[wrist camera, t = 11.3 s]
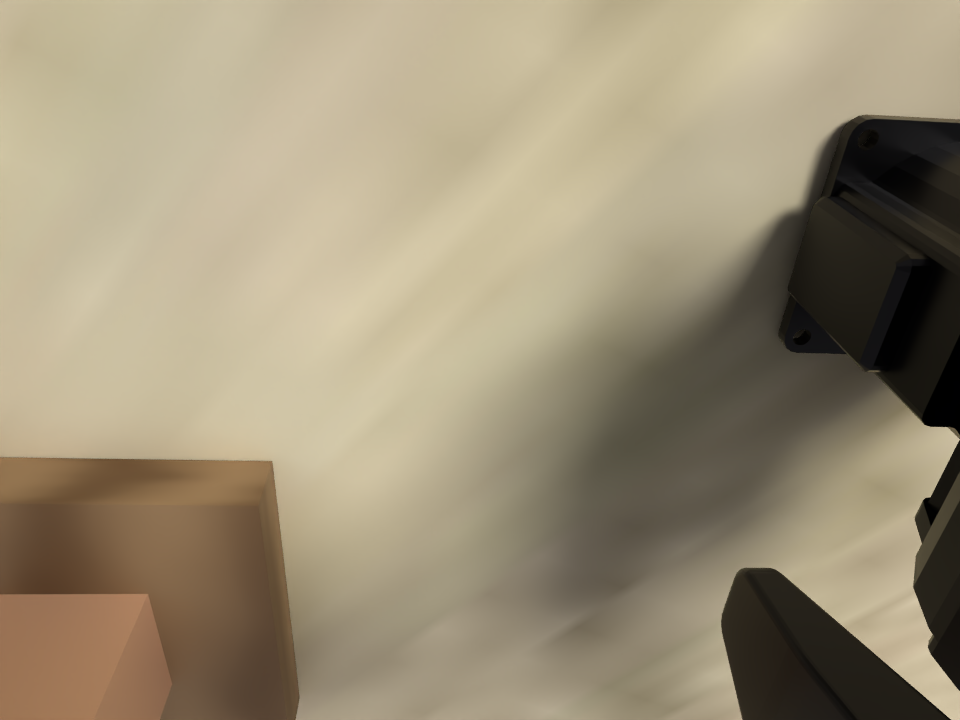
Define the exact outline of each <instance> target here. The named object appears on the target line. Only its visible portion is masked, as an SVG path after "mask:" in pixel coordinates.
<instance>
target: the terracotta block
mask: <svg viewBox="0 0 960 720" xmlns="http://www.w3.org/2000/svg"><path fill="white" fill-rule="evenodd" d="M171 686H172V681H171V678H170V674H169V670H168V667H167V663H166V659H165V655H164V652H163V648H162V644H161V641H160V637H159V633H158V630H157V626H156V622H155V618H154V615H153V611H152V607H151V604H150V600H149V596H148V594H0V720H160V718H161V715H162V712H163V709H164V706H165V704H166V701H167V698H168V695H169V692H170V689H171Z"/></svg>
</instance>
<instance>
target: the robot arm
mask: <svg viewBox="0 0 960 720" xmlns="http://www.w3.org/2000/svg"><path fill="white" fill-rule="evenodd" d="M869 129H870V137H869V139H868V140H867V142H865V143H864V144H863V145H860V146H858V138H859V137H860V135H861V134H862V133H863V132H864V131H866V130H869ZM788 291H789V292H790V297H789V301H788V304H787V307H786V310H785V313H784V316H783V320H782V323H781V326H780V329H779V338H780V340H781V342H782V343H783V344H784V345H785V347H786V348H787V349H789V350H790V351H792V352H796V353H830V354H847V355H848V356H849V357H850V358H851V359H852V360H853V361H854V362H855V363H856V364H857V365H858V366H859V367H860V368H861V369H862V370H863V371H865V372H874V373H875V374H876V375H877V376H878V377H879V378H880V379H881V380H882V381H883V382H884V383H885V384H886V385H887V386H888V388H889V389H890V390H891V391H892V392H893V393H894V394H895V395H896V396H897V397H898V398H899V399H900V400H901V401H902V402H903V403H904V404H905V405H906V406H907V407H908V408H909V409H910V410H911V411H912V412H913V413H914V414H915V415H916V416H917V417H918V418H919V419H920V420H921V421H922V423H923V424H924V425H927V426H930V427H948V428H949V429H950V430H951V431H952V432H953V433H954V434H955V435H956V436H957V437H958V438H959V439H960V120H957V119H938V118H919V117H900V116H881V115H862V116H858V117H856V118H854V119H852V120H851V121H850V122H849V123H848V124H847V125H846V126H845V127H844V129H843V131H842V133H841V135H840V138H839V141H838V144H837V147H836V151H835V154H834V157H833V160H832V163H831V167H830V170H829V173H828V176H827V179H826V183H825V186H824V189H823V192H822V195H821V198H820V199H819V200H818V201H817V202H816V203H815V204H814V205H813V208H812V211H811V215H810V218H809V221H808V224H807V227H806V231H805V234H804V237H803V240H802V244H801V247H800V250H799V253H798V256H797V260H796V263H795V266H794V269H793V273H792V276H791V279H790V282H789V286H788ZM804 329H805V331H804V333H803V334H802V335H801V336H800V337H798V338H793V337H794V335H795V334H796V333H797V332H798V331H800V330H804ZM915 522H916V525H917V529H918V532H919V535H920V538H921V542H922V545H921V547H920V549H919V551H918V553H917V555H916V561H915V573H914V584H913V588H914V590H915V593H916V596H917V598H918V601H919V603H920V606H921V609H922V611H923V614H924V617H925V619H926V622H927V625H928V627H929V629H930V631H931V632H932V634H933V635H932V637H931V638H930V640H929V644H928V648H929V651H930V653H931V655H932V656H933V658H934V659H935V660H936V662H937V663H938V664H939V665H940V667H941V668H942V669H943V671H944V672H945V673H946V674H947V676H948V677H949V678H950V680H951V681H952V682H953V683H954V685H955V686H956V687H957V688H958V690H959V691H960V440H959V442H958V444H957V446H956V448H955V450H954V452H953V454H952V456H951V458H950V460H949V462H948V464H947V466H946V468H945V470H944V472H943V474H942V476H941V478H940V480H939V482H938V484H937V486H936V488H935V490H934V492H933V494H932V496H931V497H930V498H925V499H924V500H923V502H922V504H921V506H920V508H919V510H918V512H917V514H916V516H915ZM721 627H722V634H723V639H724V643H725V647H726V652H727V656H728V660H729V664H730V669H731V673H732V677H733V681H734V686H735V690H736V694H737V698H738V703H739V707H740V711H741V715H742V720H951V719H950V718H948V717H947V716H946V715H945V714H944V713H943V712H941V711H940V710H939V709H938V708H937V707H936V706H934V705H933V704H932V703H931V702H930V701H929V700H927V699H926V698H925V697H924V696H923V695H922V694H921V693H919V692H918V691H917V690H916V689H915V688H914V687H912V686H911V685H910V684H909V683H908V682H907V681H905V680H904V679H903V678H902V677H901V676H900V675H898V674H897V673H896V672H895V671H894V670H893V669H892V668H890V667H889V666H888V665H887V664H886V663H885V662H883V661H882V660H881V659H880V658H879V657H878V656H876V655H875V654H874V653H873V652H872V651H871V650H869V649H868V648H867V647H866V646H865V645H864V644H863V643H861V642H860V641H859V640H858V639H857V638H856V637H854V636H853V635H852V634H851V633H850V632H849V631H847V630H846V629H845V628H844V627H843V626H842V625H840V624H839V623H838V622H837V621H836V620H835V619H834V618H832V617H831V616H830V615H829V614H828V613H827V612H825V611H824V610H823V609H822V608H821V607H820V606H818V605H817V604H816V603H815V602H814V601H813V600H811V599H810V598H809V597H808V596H807V595H806V594H805V593H803V592H802V591H801V590H800V589H799V588H798V587H796V586H795V585H794V584H793V583H792V582H791V581H789V580H788V579H787V578H786V577H785V576H784V575H782V574H781V573H780V572H778V571H777V570H775V569H772V568H743V569H741V570H739V571H738V572H737V574H736V576H735V578H734V581H733V584H732V587H731V590H730V592H729V595H728V598H727V601H726V604H725V607H724V610H723V613H722V619H721Z"/></svg>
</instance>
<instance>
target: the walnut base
mask: <svg viewBox="0 0 960 720" xmlns="http://www.w3.org/2000/svg"><path fill="white" fill-rule="evenodd" d="M0 594H148V596H149V600H150V604H151V607H152V611H153V615H154V618H155V622H156V626H157V630H158V633H159V637H160V641H161V644H162V648H163V652H164V655H165V659H166V663H167V667H168V670H169V674H170V678H171V681H172V686H171V689H170V692H169V695H168V698H167V701H166V704H165V706H164V709H163V712H162V715H161V718H160V720H295V719H296V714H297V708H298V703H299V689H298V681H297V672H296V663H295V655H294V646H293V637H292V629H291V620H290V611H289V603H288V594H287V585H286V577H285V568H284V559H283V550H282V542H281V533H280V524H279V516H278V507H277V498H276V490H275V481H274V472H273V464H272V461H204V460H134V459H63V458H0Z"/></svg>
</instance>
